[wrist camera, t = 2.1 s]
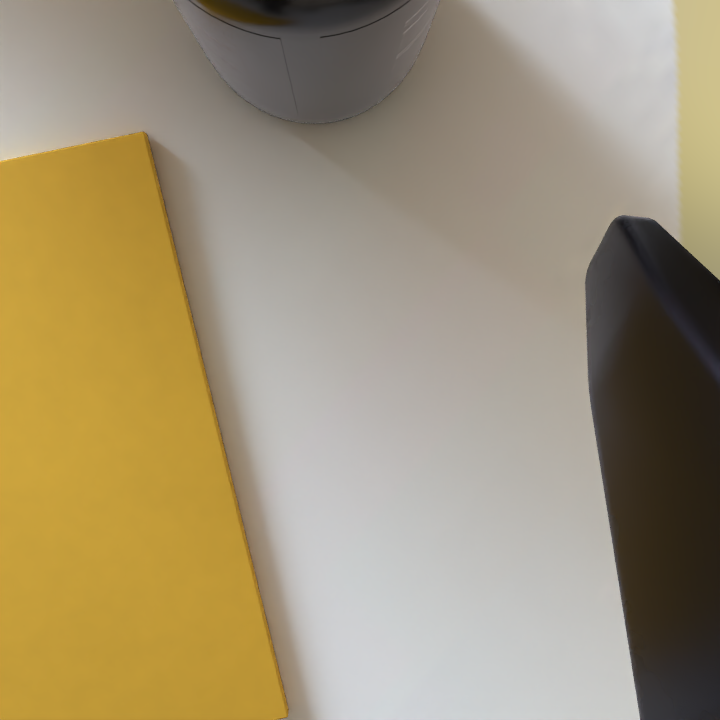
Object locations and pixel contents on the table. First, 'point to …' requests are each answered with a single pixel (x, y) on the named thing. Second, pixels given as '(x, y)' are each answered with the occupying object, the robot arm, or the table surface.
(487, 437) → the table surface
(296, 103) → the supplement bottle
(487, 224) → the table surface
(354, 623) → the table surface
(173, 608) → the cloth
